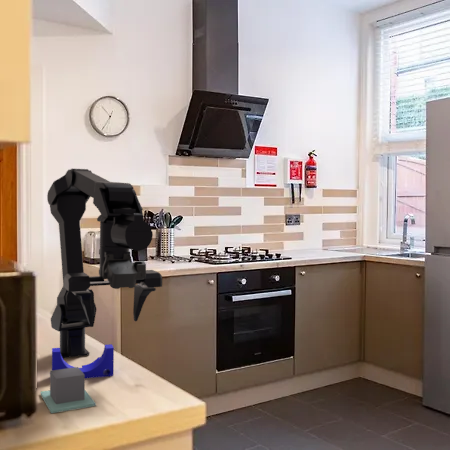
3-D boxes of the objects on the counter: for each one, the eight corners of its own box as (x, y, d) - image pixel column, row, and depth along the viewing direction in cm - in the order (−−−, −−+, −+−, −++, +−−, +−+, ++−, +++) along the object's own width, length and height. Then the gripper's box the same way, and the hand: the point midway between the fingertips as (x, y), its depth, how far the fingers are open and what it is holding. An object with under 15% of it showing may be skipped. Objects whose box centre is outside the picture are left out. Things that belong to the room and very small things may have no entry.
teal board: (40, 394, 102) (40, 391, 102) (81, 388, 106) (81, 385, 106) (51, 413, 93) (51, 410, 93) (95, 405, 97) (95, 403, 97)
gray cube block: (50, 394, 100) (50, 370, 100) (77, 390, 103) (77, 367, 102) (55, 404, 96) (55, 378, 96) (84, 399, 98) (84, 374, 98)
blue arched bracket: (110, 370, 117) (111, 342, 117) (113, 376, 113) (113, 348, 113) (51, 375, 114) (51, 346, 113) (52, 382, 109) (52, 352, 109)
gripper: (74, 251, 99) (73, 337, 100) (172, 248, 107) (171, 328, 108) (63, 245, 109) (63, 323, 110) (154, 243, 117) (152, 315, 118)
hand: (113, 322), depth 111 cm, fingers open, 9 cm apart
